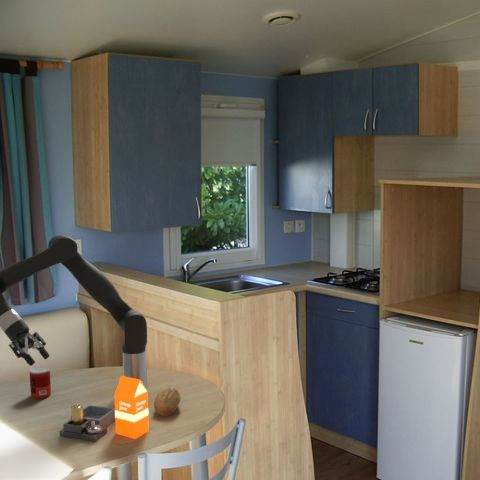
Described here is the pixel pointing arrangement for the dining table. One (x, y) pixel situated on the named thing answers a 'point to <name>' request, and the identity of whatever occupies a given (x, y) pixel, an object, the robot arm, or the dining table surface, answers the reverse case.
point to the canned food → (40, 382)
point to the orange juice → (131, 408)
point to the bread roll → (166, 402)
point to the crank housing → (83, 431)
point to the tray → (99, 414)
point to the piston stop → (77, 415)
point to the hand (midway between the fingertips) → (40, 361)
